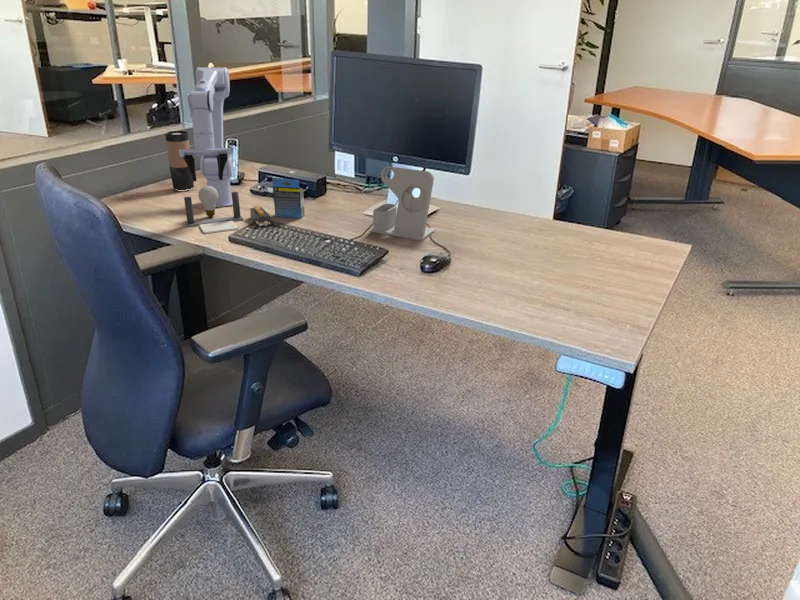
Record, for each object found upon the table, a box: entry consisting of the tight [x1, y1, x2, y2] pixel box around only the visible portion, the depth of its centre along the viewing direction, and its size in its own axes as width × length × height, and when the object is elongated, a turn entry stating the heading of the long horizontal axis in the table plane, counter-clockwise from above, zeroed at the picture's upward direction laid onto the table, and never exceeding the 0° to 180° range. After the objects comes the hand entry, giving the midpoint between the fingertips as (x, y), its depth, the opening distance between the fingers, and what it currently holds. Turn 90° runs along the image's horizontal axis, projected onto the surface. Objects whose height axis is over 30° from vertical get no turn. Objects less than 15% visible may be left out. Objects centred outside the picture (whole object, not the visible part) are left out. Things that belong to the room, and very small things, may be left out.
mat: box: [199, 221, 239, 235], centre depth 187 cm, size 8×10×1 cm
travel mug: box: [164, 130, 195, 190], centre depth 221 cm, size 8×8×20 cm
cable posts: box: [183, 191, 244, 228], centre depth 190 cm, size 3×17×8 cm, turn 117°
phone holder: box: [371, 166, 435, 241], centre depth 183 cm, size 17×10×18 cm, turn 64°
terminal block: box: [249, 205, 272, 223], centre depth 192 cm, size 10×4×4 cm, turn 27°
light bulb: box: [198, 185, 218, 218], centre depth 194 cm, size 6×6×10 cm
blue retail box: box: [271, 177, 305, 219], centre depth 196 cm, size 9×4×12 cm, turn 80°
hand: (207, 180), depth 188 cm, fingers open, 7 cm apart
